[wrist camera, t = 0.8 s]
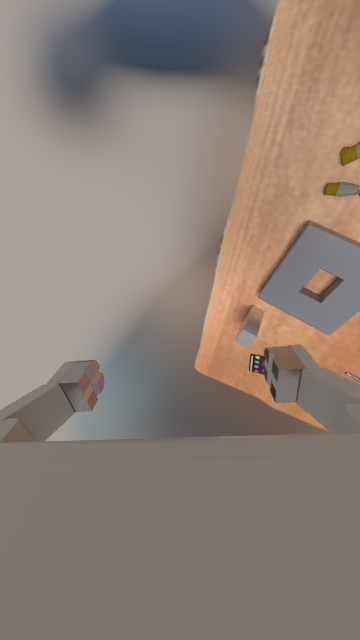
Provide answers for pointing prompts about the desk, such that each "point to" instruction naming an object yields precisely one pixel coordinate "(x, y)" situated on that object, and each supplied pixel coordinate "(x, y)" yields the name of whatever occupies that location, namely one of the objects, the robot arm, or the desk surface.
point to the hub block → (301, 264)
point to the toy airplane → (353, 377)
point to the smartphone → (256, 363)
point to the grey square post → (249, 327)
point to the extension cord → (345, 188)
